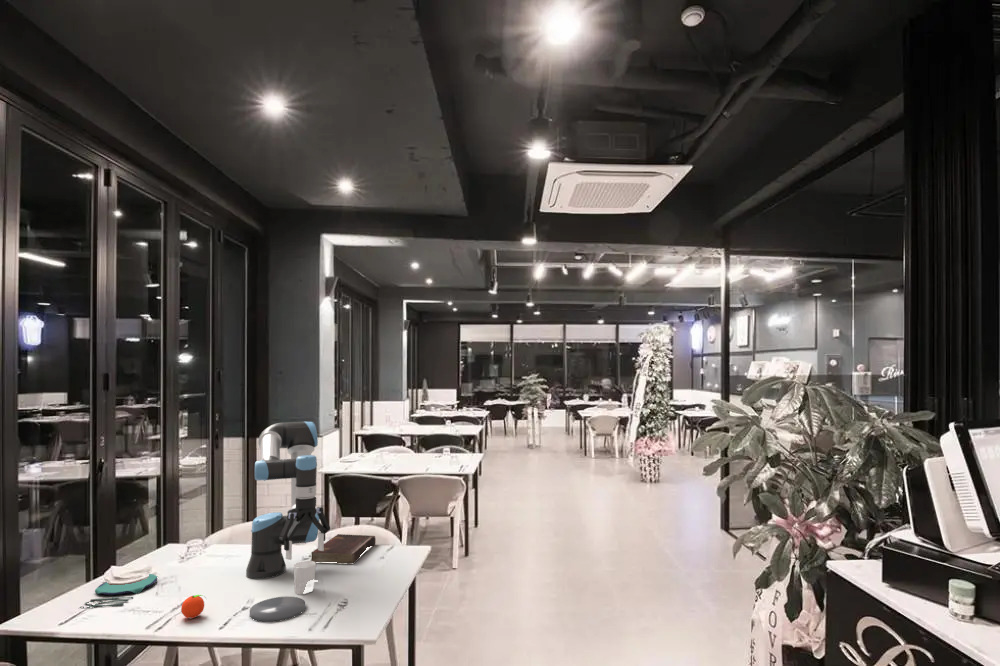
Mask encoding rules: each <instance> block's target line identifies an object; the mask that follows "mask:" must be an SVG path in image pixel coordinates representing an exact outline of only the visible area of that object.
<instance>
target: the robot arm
mask: <svg viewBox="0 0 1000 666" xmlns="http://www.w3.org/2000/svg"><path fill="white" fill-rule="evenodd" d="M318 440H319V439H318V432H317V427H316V423H315V422H314V421H292V422H291V421H289V422H284V421H283V422H282V421H281V422H278V423H277V422H276V423H273V424H271V425H269V426H268V427H266V428H265V429H264V430H263V431H261V433H260V434H259V437H258V442H257V443H258V447H259V449H260V459H259V460H257V461H255V463H254V480H255V481H264V482H265V481H273V480H287V479H288V480H289V479H290V480H291V481H290V484H291V485H290V488H291V489H290V500H291V501H290V503H291V504H290V505H291V507H290V508H289V509H288V510H287V515H283V513H282V512H279V511H278V512H269V513H264V514H261V515H259V516H257V517H255V518H253V520H252V524H251V530H250V532H251V547H250V553H251V554H250V557H249V560H248V562H247V566H246V570H245V571H246V572H245V574H246V575H245V576H246V577H247V578H249V579H258V580H261V579H269V578H274V577H277V576H281V575H283V574H284V573H285V572H286V571H287V567H286V566H287V565H286V562H285V559H286V560H289V561H291V560H292V559H293V558H292V557H293V556H292V554H293V551H292V549H293V548H292V547H293V545H297V544H307V543H313V542H315V541H316V540H317V548H318V550H320V551H324V543H325V541H326V534H327V533H328V531H330V530H331V527H330V525H329V522H328V520H327V517H326V515H325V513H324V508H323V507H321V506H317V497H316V496H317V470H318V469H317V466H318V462H317V460H318V459H317V456H316V455H315V454H314V455H312V453H313V452H314V451H315V448H317V447H318V444H319V441H318ZM281 449H287V450H286V451H287V453H288V454H289V455H290V458H287V459H286V458H285V459H284V458H283V459H281ZM282 546H283V549H282ZM282 550H284V551H285V558H284V555H283V552H282Z"/></svg>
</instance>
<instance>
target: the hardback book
mask: <svg viewBox="0 0 1000 666" xmlns="http://www.w3.org/2000/svg"><path fill="white" fill-rule="evenodd" d="M376 542H377V541H376V536H375V535H365V534H364V535H361V534H342V533H341V534H340V533H338V534H336V535H335V536H333V537H332V538H330V539H329V540H327V541H326V542H324V551H320V550H318V547H317V548H316V549H315V550H313V551H312V552H311V560H310V561H314V562H337V563H354V562H355V561H356V560H357V559H358V558H359V557H360V555H361V554H362V553H363V552H364V551H365V550H366V548H367V547H370V546H373V547H374V546H376ZM359 559H360V558H359ZM359 559H358V560H359ZM358 560H357V561H358ZM357 561H356V562H357ZM356 562H355V563H356ZM355 563H354V564H355Z"/></svg>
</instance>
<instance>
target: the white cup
mask: <svg viewBox="0 0 1000 666" xmlns="http://www.w3.org/2000/svg"><path fill="white" fill-rule="evenodd" d="M316 567H317V563H316V562H314V561H311V560H302V561H298V562H296V563H294V564H293V581H294V593H295V594H296V595H299V596H300V595H301V594H303V592H304V590H305V587H306V584H307V582H308V581H310V580H313V579H315V580H316ZM303 595H304V594H303Z"/></svg>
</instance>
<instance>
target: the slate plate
mask: <svg viewBox="0 0 1000 666" xmlns="http://www.w3.org/2000/svg"><path fill="white" fill-rule="evenodd" d="M306 605H307V604H306V601H305V599H303V598H301V597H299V596H298V597H297V596H277V597H272V598H267V599H265V600H262V601H259V602H257V603H255V604H254V605H252V606H251V607H250V609H249V618H250V617H251V618H252V619H251V618H250V619H251V620H253V619H254V620H253V621H255V620H257V621H256V622H259V621H262V622H261V623H273V621H276V622H281V621H280V620H282V621H286V620H290V619H293V618H295V617H297V616H299V615H301V614H302V613H303V612H304V611H305V610H306ZM304 609H305V610H304ZM301 612H302V613H301ZM300 613H301V614H300ZM294 616H295V617H294ZM292 617H293V618H292ZM289 618H290V619H289ZM285 619H286V620H285Z"/></svg>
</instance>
